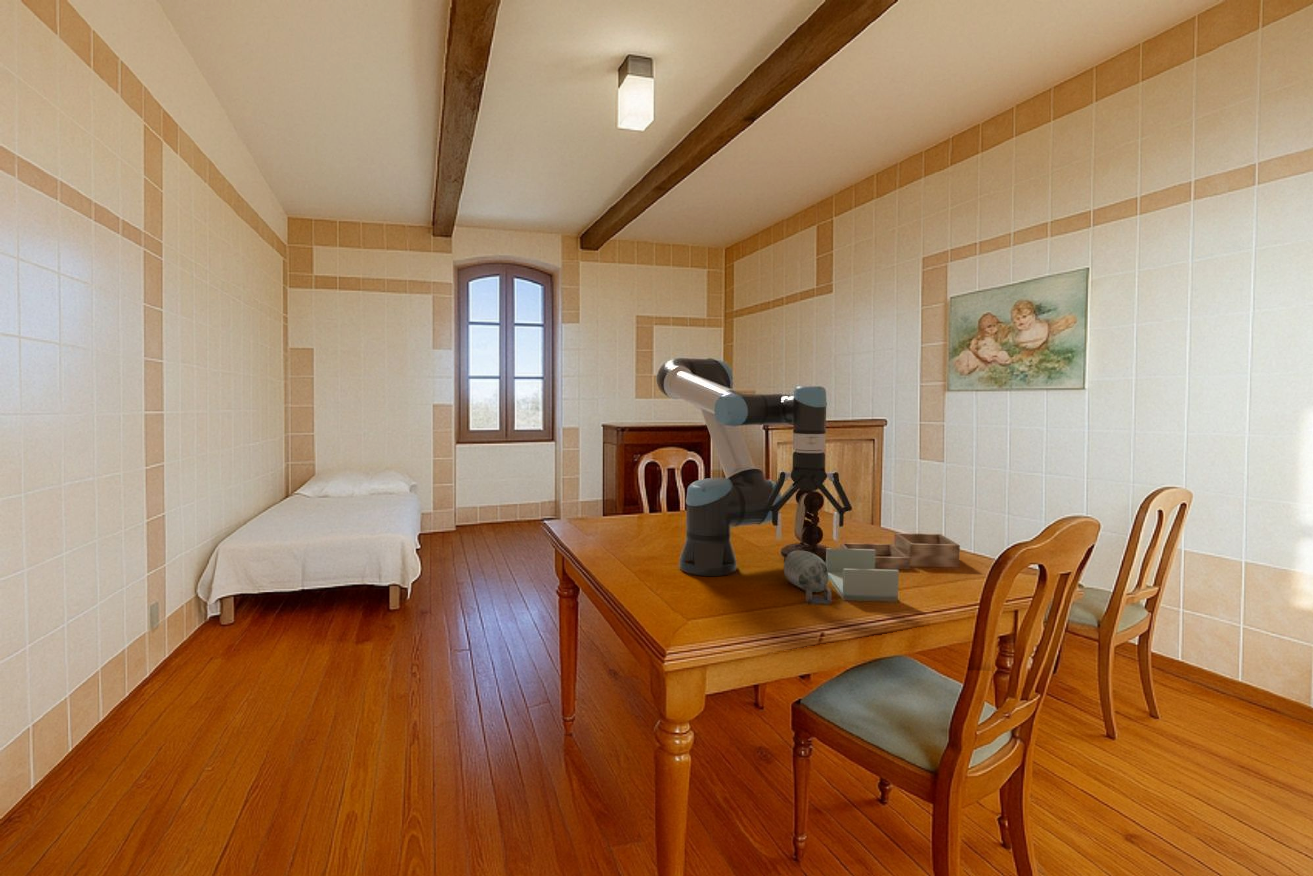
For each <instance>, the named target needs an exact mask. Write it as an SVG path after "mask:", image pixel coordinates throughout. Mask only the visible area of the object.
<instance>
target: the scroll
mask: <svg viewBox="0 0 1313 876" xmlns="http://www.w3.org/2000/svg"><path fill="white" fill-rule="evenodd" d="M822 494H823V493H822V492H821V493H820V492H819V491H817V490H816V491H811V490H806V491H802V490H800V489H798V491H797V492H795V501H796V503H797V506H796V512H795V517H794V518H795V519H794V530H793V532H794V536H795V538H796V539H797V540H798V541H799V542H795V543H790V544H787V545H785V546H783V547H781V548H780V555H781V556H782V557H783V558H785V559H786V557H787V555H788V554H789V553H791V552H793V551H797V550H802V551H807V552H810V553H813V554H815V555H817V556H818V557H820V558H821V559H822V560H823V561H824V562H825V563H826V548H829V547H828V546H826V545H822V544H820V543H821V542H822V540H823V537H824V532H823V530H822V528H821V527H820V526H819V523H820V517H819V516H818V515H819V511H820V510H821V509H822V508H823V507H824V504H825V498H824V495H822Z"/></svg>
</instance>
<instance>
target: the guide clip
mask: <svg viewBox="0 0 1313 876" xmlns="http://www.w3.org/2000/svg"><path fill="white" fill-rule="evenodd" d="M805 600H806V602H807V604H809V605H832V590H831V589H830V587H829V586H826V587H825V589H824V596H823V595H813V592H812V589H811V588H810V586H806V590H805Z"/></svg>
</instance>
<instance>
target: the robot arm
mask: <svg viewBox="0 0 1313 876" xmlns="http://www.w3.org/2000/svg"><path fill="white" fill-rule="evenodd" d="M733 380H734V376H733V372H732V370H731V367H730V366H729V365H728V364H727V363H726V362H725V361H723V360H721V359H714V358H711V357H710V358H691V357H690V358H689V357H688V358H687V357H677V358H676V357H675V358H672V359H669V360H667V361H666V362H664V363H663V364H662V365H661V366H660V368H659V370H658V371H657V374H656V384H657V387H658V389H659V391H660V392H661V393H662V394H664V395H665V396H666V397H669V398H670V399H673V400H681V399H682V400H683V401H686V402H687V403H689V404H691V405H693V406H694V407H695V409H698V410H701V414H702V416H703V419H704V421H705V424H706V427H707V430H708V432H709V435H710V438H711V441H712V444H713V446H714V448H715V452H716V455H717V456H718V460H719V462H720V465H721V468H722V471H723V473H724V476H725V477H710V478H703V479H698V480H695V481H693V482H692V483H690V484H689V485H688V487H687V492H686V498H685V504H686V520H685V521H686V524H685V525H686V527H685V528H686V529H685V530H686V531H685V533H686V534H685V542H684V544H683V547H682V550H681V553H680V556H679V561H678V562H679V563H678V568H679V569H680V571H682V572H684V573H687V574H690V575H695V576H701V577H718V576H719V577H721V576H727V575H731V574H734V573H735V572H736V571H737V567H738V565H737V564H738V563H737V561H738V560H737V558H736V553H735V550H734V547H733V544H732V540H731V535H732V534H731V532H732V531H731V529H732V528H733V527H743V526H753V525H762V524H765V523H770V522H771V523H772V526H774V527H776V531H775V535H776V536H775V538H776V540H777V541H782V512H781V511H780V510H781V509H782V508H783V506H784V505H785V504H787V502H788V501H789V500H791V498H792V496H793V495H794V494H796V493H797V492H798V490H799V489H800V490H802V491H806V490H811V491H817V490H819V491H820V492H821V494H823V496H824V497H825V498H826V499H827V500H828V502H829V503H830V504H831V506H833V508H834V509H835V510H836V511H833V521H832V523H833V525H832V530H833V531H832V539H833V540H834V541H835V542H839V541H840V527H844V524H845V523H844V522H845V521H844V520H845V519H844V518H845V517H844V516H845V514H846V512H851V511H852V510H853V507H852V504H851V503H850V501H849V499H848V497H847V495H846V492H845V490H844V488H843V486H842V483H841V482H840V474H839V473H838V472H837V471H835V470H832V471H831V472H826V454H825V452H823V451H825V450H826V429H827V428H826V427H827V406H828V402H827V390H826V388H825V387H823V386H819V385H818V386H817V385H816V386H815V385H814V386H813V385H809V386H807V385H804V386H803V385H800V386H795V387H794V389H793V394H786V393H784V394H782V393H771V394H770V393H769V394H762V393H761V394H758V393H757V394H750V393H748V394H746V393H741V392H739V391H736V390H734V389H733V388H734V382H733ZM773 425H774V426H775V425H786V426H793V430H792V449H793V450H794V451H793V452H792V467H791V469H792V470H791V472H788V471H783V470H780V471H778V477H777V480H776V482H775V481H773V480H772V479H767V478H766V477H765V475H764V472H763V470H762V468H759V467H756V466H755V463H754V462H753V459H752V456H751V453H750V451H749V449H748V446H747V444H746V441H745V439H744V436H743V434H742V431H741V428H740V427H742V426H773ZM789 478H790V479H791V481H792V482H793V483H792V484H790V486H789V487H788V489H787V490H786V491H785V492H784V493H783V495H782V494H781V490H782V488H783V486H784V483H785V482H786V481H788V480H789ZM827 478H828V480H829V482H830V481H831V482H832V485H833V486H834V489H835V490H836V493H837V495H838V497H839V499H840V501H841V503H842V506H841V504H840V503H839V502H838V501H837V500H836V498H835V497H834V495H832V494H831V491H829V490H828V489H827V487H826V486H825V485H824V484H823V483H824V482H825V481H826V479H827Z"/></svg>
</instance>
